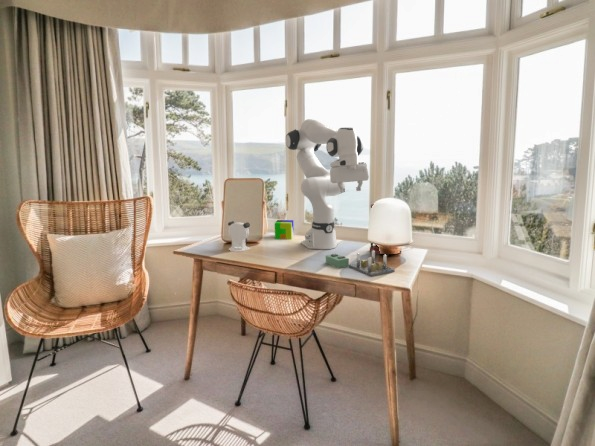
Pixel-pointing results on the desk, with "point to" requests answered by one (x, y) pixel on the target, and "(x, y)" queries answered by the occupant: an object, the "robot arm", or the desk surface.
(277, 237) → the puzzle toy
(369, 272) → the chassis
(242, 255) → the desk surface
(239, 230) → the panda figurine
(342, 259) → the green rectangular block
